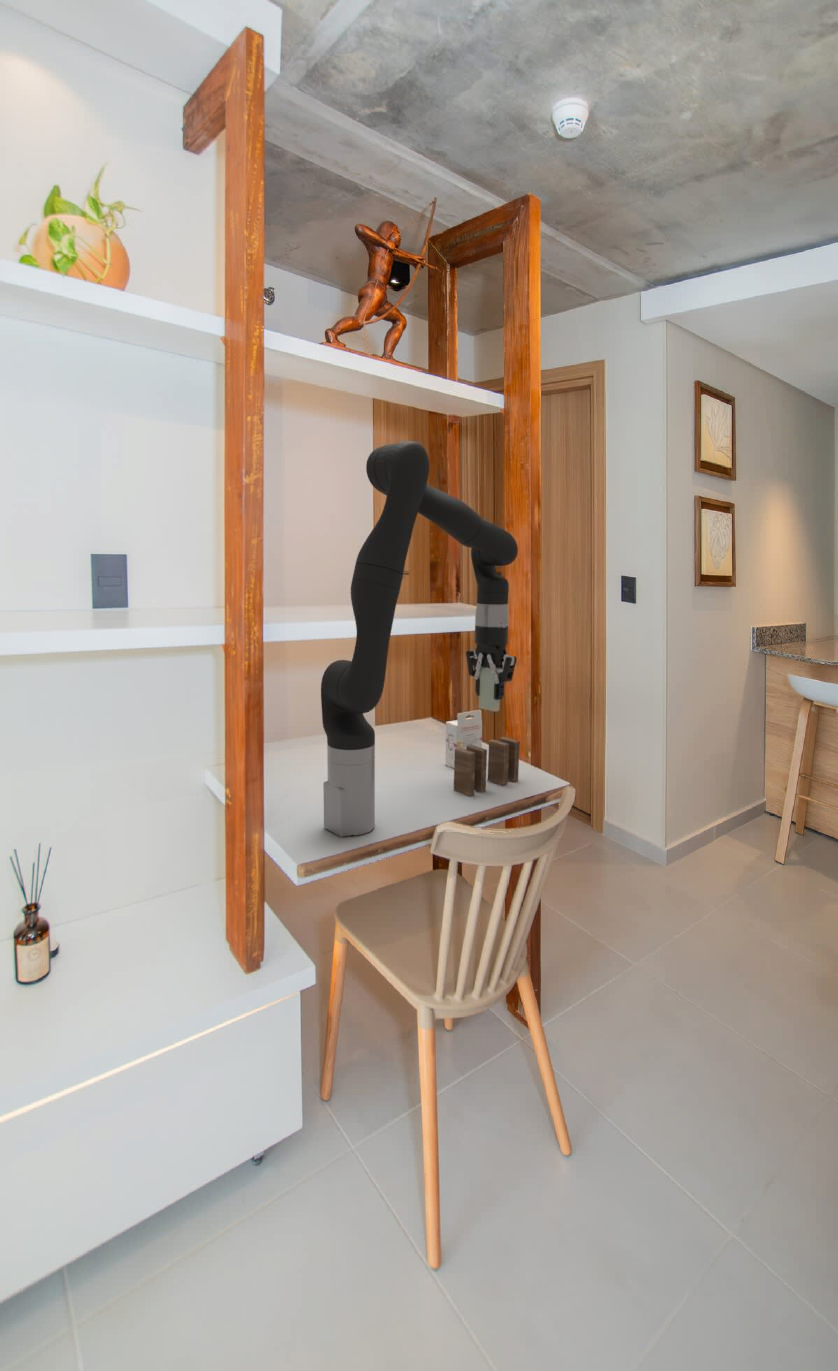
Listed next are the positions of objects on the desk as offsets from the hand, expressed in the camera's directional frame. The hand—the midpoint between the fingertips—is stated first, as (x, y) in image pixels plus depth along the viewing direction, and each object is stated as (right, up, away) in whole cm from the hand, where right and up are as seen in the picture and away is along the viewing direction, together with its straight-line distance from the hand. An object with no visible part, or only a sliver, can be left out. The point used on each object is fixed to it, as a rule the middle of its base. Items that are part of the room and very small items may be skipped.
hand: (489, 696), depth 152 cm
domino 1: (-6, -22, -1) cm, 23 cm away
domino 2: (-3, -22, +1) cm, 22 cm away
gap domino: (0, -3, +1) cm, 3 cm away
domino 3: (+3, -21, +6) cm, 22 cm away
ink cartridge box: (-5, -18, +20) cm, 27 cm away
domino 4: (+6, -20, +9) cm, 23 cm away
